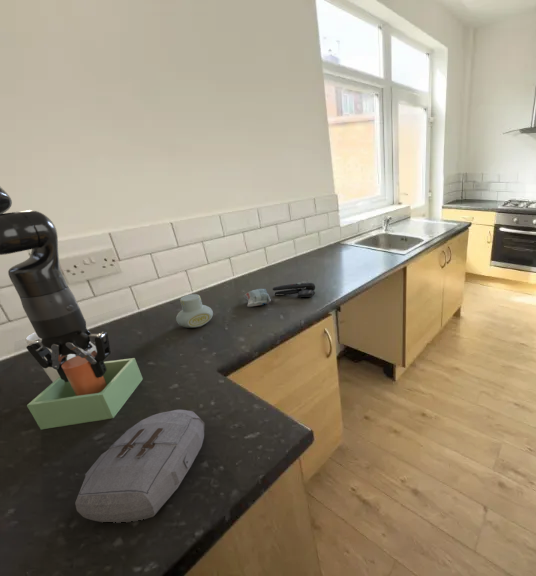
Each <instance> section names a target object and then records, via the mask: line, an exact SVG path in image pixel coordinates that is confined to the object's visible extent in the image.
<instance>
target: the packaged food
mask: <svg viewBox="0 0 536 576" xmlns="http://www.w3.org/2000/svg"><path fill="white" fill-rule="evenodd" d="M243 298H245V300H247V305H246V306H247V307H258V306H264V304H265V305H269V304H270V303H271V302H272V299H271V297H270V294H269V293H268V292H267V289H266V288H256V289H253V290H250V291H248V292H246V293H245V294H243Z"/></svg>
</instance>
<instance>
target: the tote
mask: <svg viewBox="0 0 536 576" xmlns="http://www.w3.org/2000/svg"><path fill="white" fill-rule="evenodd" d="M103 362H104V364H105V366H106V368H107V371H106V372H105V374H104V375H103V376H104V378H105V380H106V383H107V386H106V387H105V388H104V389H103V390H102V391H100V392H99V393H94V394H87V395H81V396H76V395H75V393H74V391H73V389H72V387H71V385H70V383H69V382H65V381H64V380H62V379H61V378H60V377H59V378H58V379H56V380H55V381H54V382H52V383H50V384H49V385H48V386H47V387H46V388H45V389H44V390H43V391H41V392H40V393H39V394H38V395H36V397H35V398H33V399H32V400H31V401H30V402H29V403H28V404H27V405H26V407H27V409H28V410H29V412H30V414H31V415H32V417H33V419H34V421H35V423H36V424H37V426H38V427H39V429H40V430H47V429H53V428H60V427H66V426H72V425H78V424H86V423H91V422H98V421H105V420H110V419H114V418H115V417H116V416H117V414H118V413H119V412H120V411H121V409H123V406H125V404H126V402H127V401H128V400H129V398H130V397H131V396H132V394H133V393H134V392H135V390H136V389H137V388H138V386H139V385H140V384H141V383H142V381H143V380H144V377H143V376H142V373H141V371H140V368H139V365H138V363H137V360H136V358H135V357H132V358H124V359H123V358H122V359H116V360H107V361H103Z"/></svg>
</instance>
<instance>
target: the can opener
mask: <svg viewBox="0 0 536 576" xmlns="http://www.w3.org/2000/svg"><path fill="white" fill-rule="evenodd" d="M315 290H316V285H315V283H313V282H309V281H306V282H299V281H298V282H297V283H288V284H282V285H281V284H280V285H277V286H274V287H272V291H274V293H275V294H289V295H294V294H297V298H299V297H310V298H313V296H314V295H315V294H316V291H315Z"/></svg>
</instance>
